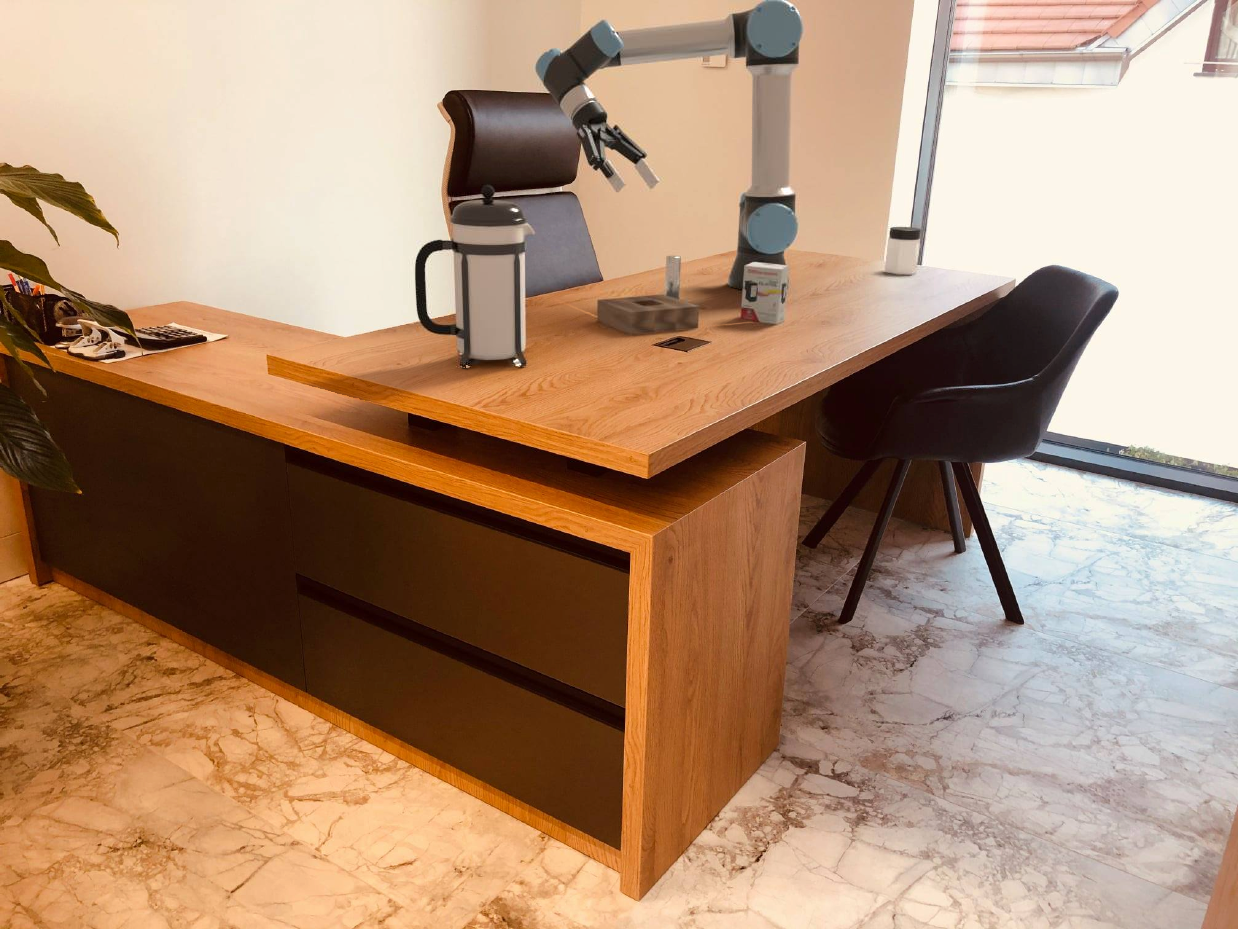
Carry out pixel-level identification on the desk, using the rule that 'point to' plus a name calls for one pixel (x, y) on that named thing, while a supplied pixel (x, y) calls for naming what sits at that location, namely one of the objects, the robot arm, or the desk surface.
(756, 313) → the ink box
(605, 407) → the desk surface
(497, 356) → the coffee press
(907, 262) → the jar
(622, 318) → the hole block
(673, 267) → the silver rounded cylinder
